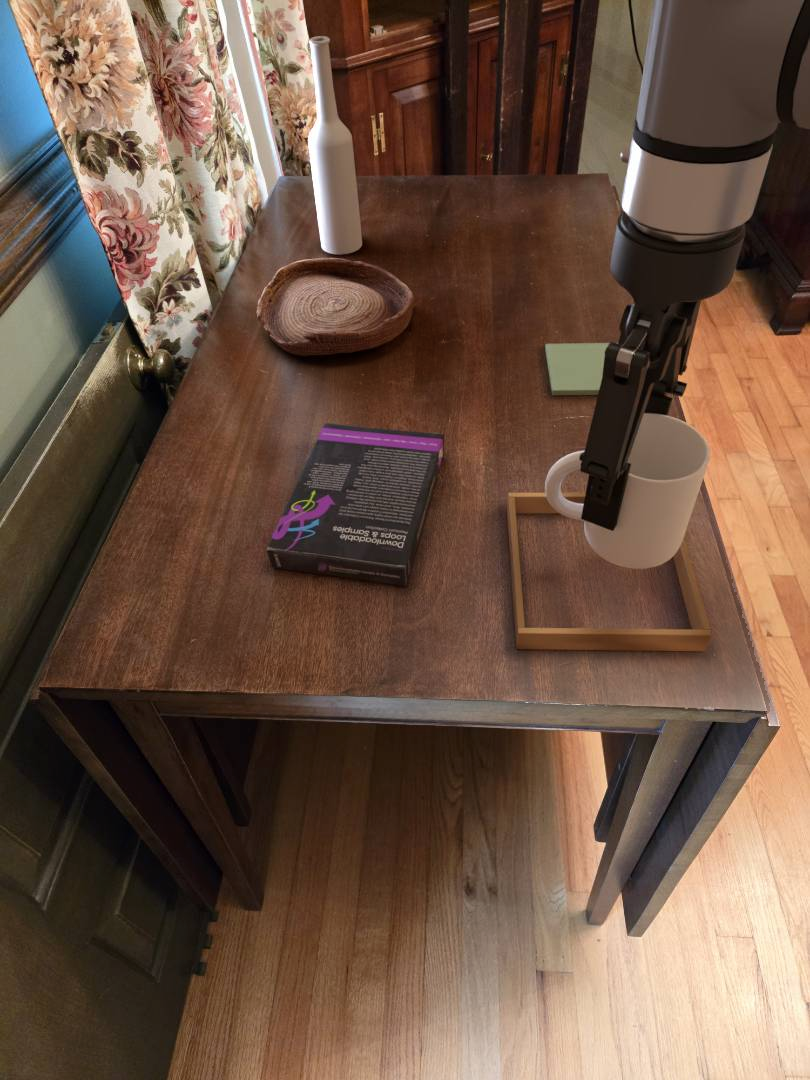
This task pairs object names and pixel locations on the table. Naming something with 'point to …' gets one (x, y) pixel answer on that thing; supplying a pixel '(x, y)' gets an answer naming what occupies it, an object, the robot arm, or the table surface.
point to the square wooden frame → (603, 637)
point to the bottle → (332, 163)
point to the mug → (645, 494)
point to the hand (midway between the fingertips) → (619, 488)
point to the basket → (333, 307)
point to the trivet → (575, 367)
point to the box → (359, 504)
